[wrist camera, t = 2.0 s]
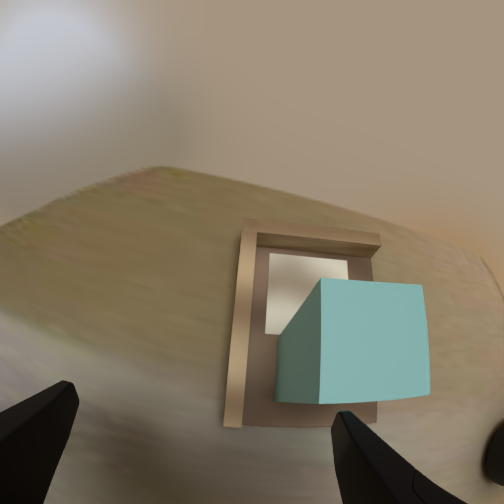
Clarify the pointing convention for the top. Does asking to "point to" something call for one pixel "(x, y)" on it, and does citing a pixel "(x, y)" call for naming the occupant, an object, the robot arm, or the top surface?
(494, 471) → the cola bottle
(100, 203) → the top surface
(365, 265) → the arena
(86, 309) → the top surface
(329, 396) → the block
